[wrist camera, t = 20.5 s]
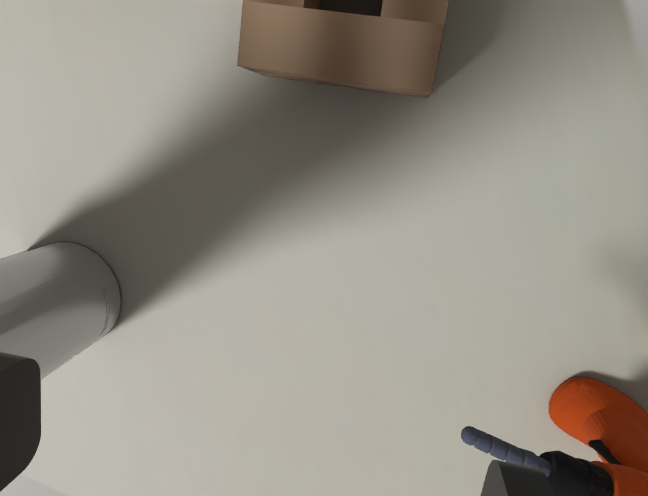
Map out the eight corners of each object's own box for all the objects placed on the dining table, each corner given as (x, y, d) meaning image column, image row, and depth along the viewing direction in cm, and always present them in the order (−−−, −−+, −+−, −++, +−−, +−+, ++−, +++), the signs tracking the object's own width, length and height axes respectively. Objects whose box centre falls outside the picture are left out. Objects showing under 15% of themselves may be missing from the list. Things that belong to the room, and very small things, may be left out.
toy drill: (442, 303, 37) (505, 433, 23) (654, 405, 39) (837, 586, 24) (410, 355, 38) (450, 509, 24) (616, 451, 40) (768, 649, 26)
